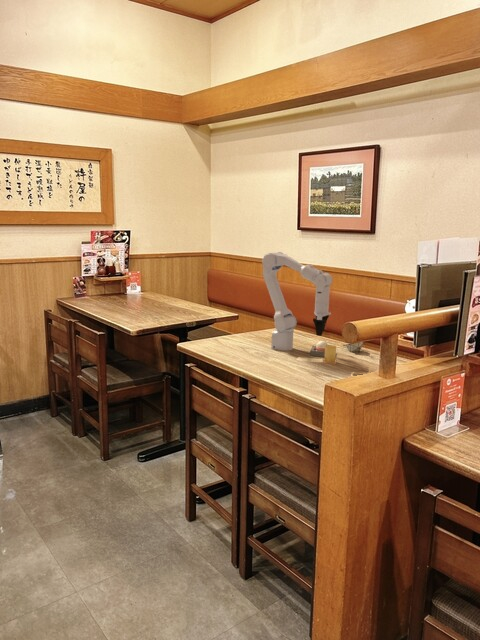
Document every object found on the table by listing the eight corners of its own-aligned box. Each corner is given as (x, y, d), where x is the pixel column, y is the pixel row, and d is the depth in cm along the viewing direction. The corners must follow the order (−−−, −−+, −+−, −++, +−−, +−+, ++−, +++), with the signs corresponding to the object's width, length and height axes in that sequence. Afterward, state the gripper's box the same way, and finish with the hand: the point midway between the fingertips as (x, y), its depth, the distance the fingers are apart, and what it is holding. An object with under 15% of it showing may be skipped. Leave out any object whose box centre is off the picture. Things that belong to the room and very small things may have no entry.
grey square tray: (310, 356, 214) (310, 350, 213) (312, 350, 222) (312, 345, 222) (331, 358, 212) (331, 352, 211) (333, 352, 220) (333, 347, 220)
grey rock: (356, 361, 224) (365, 347, 216) (339, 353, 225) (347, 339, 217) (360, 348, 230) (369, 334, 223) (343, 340, 231) (351, 326, 223)
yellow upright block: (323, 362, 204) (324, 346, 203) (324, 359, 208) (325, 344, 207) (334, 363, 203) (335, 347, 202) (335, 360, 207) (336, 345, 206)
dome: (314, 353, 215) (315, 341, 214) (316, 350, 220) (316, 339, 219) (327, 354, 213) (328, 343, 212) (329, 351, 219) (329, 340, 218)
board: (295, 364, 204) (295, 361, 204) (302, 350, 225) (303, 348, 225) (337, 368, 200) (337, 365, 200) (341, 354, 221) (341, 352, 221)
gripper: (330, 305, 203) (328, 338, 206) (333, 300, 217) (331, 330, 219) (312, 304, 205) (310, 336, 207) (316, 299, 218) (315, 329, 221)
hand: (320, 333), depth 213 cm, fingers open, 7 cm apart
